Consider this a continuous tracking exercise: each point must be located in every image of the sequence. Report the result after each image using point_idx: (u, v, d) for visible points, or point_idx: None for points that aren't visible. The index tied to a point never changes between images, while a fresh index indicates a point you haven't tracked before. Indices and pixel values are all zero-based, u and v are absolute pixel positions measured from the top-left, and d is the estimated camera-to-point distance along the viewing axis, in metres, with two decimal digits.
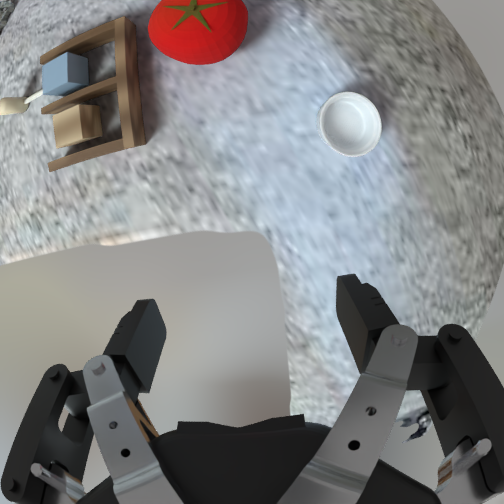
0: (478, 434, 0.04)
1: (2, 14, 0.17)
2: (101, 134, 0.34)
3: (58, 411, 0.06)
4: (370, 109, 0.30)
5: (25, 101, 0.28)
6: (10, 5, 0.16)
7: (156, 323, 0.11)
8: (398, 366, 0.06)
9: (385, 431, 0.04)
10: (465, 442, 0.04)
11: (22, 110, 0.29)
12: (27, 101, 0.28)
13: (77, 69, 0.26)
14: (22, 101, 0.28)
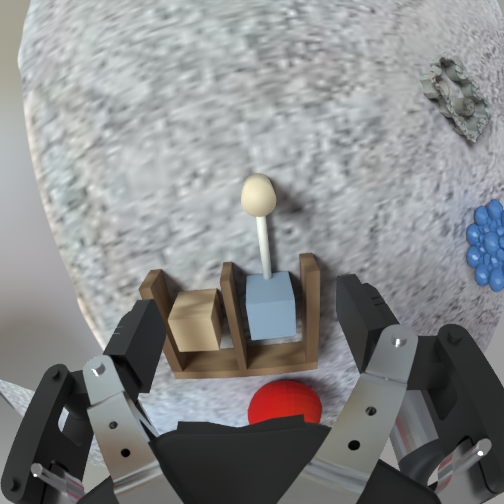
0: (478, 434, 0.04)
1: (464, 114, 0.23)
2: None
3: (58, 411, 0.06)
4: None
5: None
6: None
7: (156, 323, 0.11)
8: (398, 366, 0.06)
9: (385, 431, 0.04)
10: (465, 442, 0.04)
11: None
12: None
13: None
14: None
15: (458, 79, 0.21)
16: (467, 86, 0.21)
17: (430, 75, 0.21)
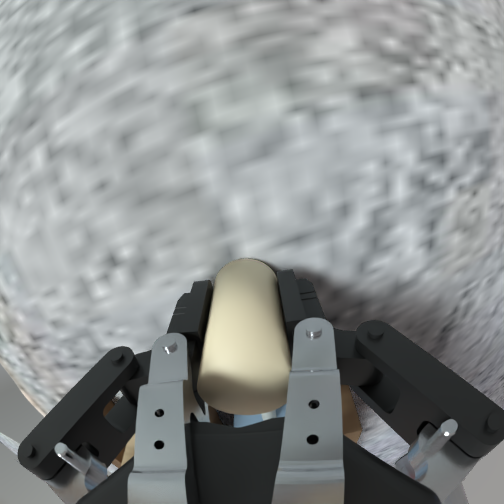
0: (437, 417, 0.05)
1: None
2: None
3: (108, 396, 0.07)
4: None
5: None
6: None
7: None
8: (322, 356, 0.07)
9: (336, 417, 0.05)
10: (426, 428, 0.05)
11: None
12: None
13: None
14: None
15: None
16: None
17: None
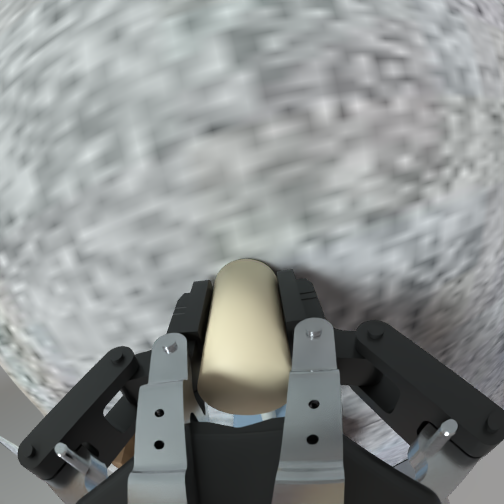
0: (437, 417, 0.05)
1: None
2: None
3: (108, 396, 0.07)
4: None
5: None
6: None
7: None
8: (322, 356, 0.07)
9: (336, 417, 0.05)
10: (426, 428, 0.05)
11: None
12: None
13: None
14: None
15: None
16: None
17: None
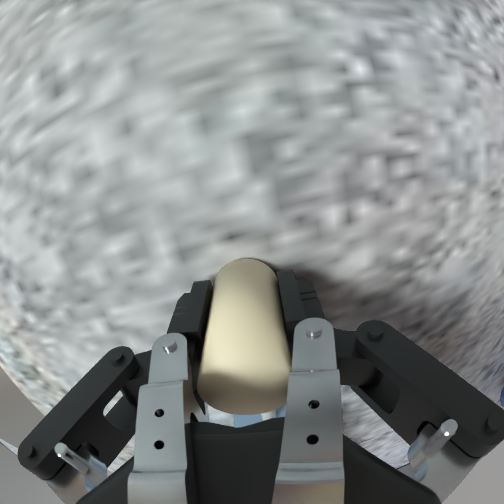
0: (437, 417, 0.05)
1: None
2: None
3: (108, 396, 0.07)
4: None
5: None
6: None
7: None
8: (322, 356, 0.07)
9: (336, 417, 0.05)
10: (426, 428, 0.05)
11: None
12: None
13: None
14: None
15: None
16: None
17: None
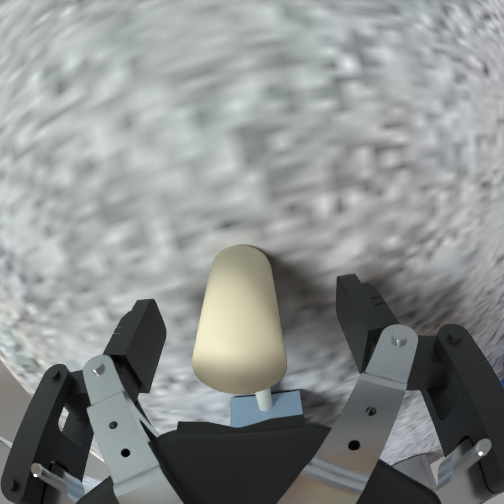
0: (478, 434, 0.04)
1: None
2: None
3: (58, 411, 0.06)
4: None
5: None
6: None
7: (155, 323, 0.11)
8: (398, 366, 0.06)
9: (385, 431, 0.04)
10: (465, 442, 0.04)
11: None
12: None
13: None
14: None
15: None
16: None
17: None
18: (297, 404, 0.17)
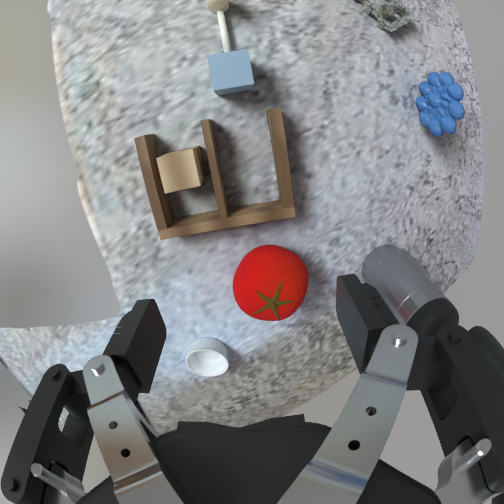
0: (478, 434, 0.04)
1: (384, 14, 0.26)
2: None
3: (58, 411, 0.06)
4: (220, 370, 0.54)
5: (219, 12, 0.27)
6: (386, 27, 0.28)
7: (156, 323, 0.11)
8: (398, 366, 0.06)
9: (385, 431, 0.04)
10: (465, 442, 0.04)
11: (210, 8, 0.27)
12: (218, 15, 0.27)
13: (234, 89, 0.32)
14: (221, 8, 0.27)
15: None
16: (391, 1, 0.25)
17: None
18: None
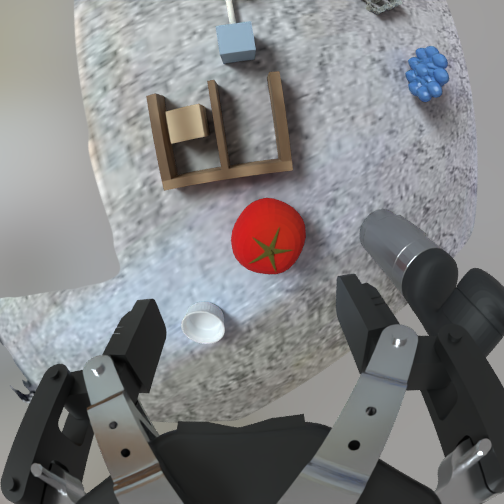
0: (478, 434, 0.04)
1: None
2: None
3: (58, 411, 0.06)
4: (216, 336, 0.55)
5: None
6: (374, 9, 0.29)
7: (155, 323, 0.11)
8: (398, 366, 0.06)
9: (385, 431, 0.04)
10: (465, 442, 0.04)
11: None
12: None
13: (238, 56, 0.33)
14: None
15: None
16: None
17: None
18: None
